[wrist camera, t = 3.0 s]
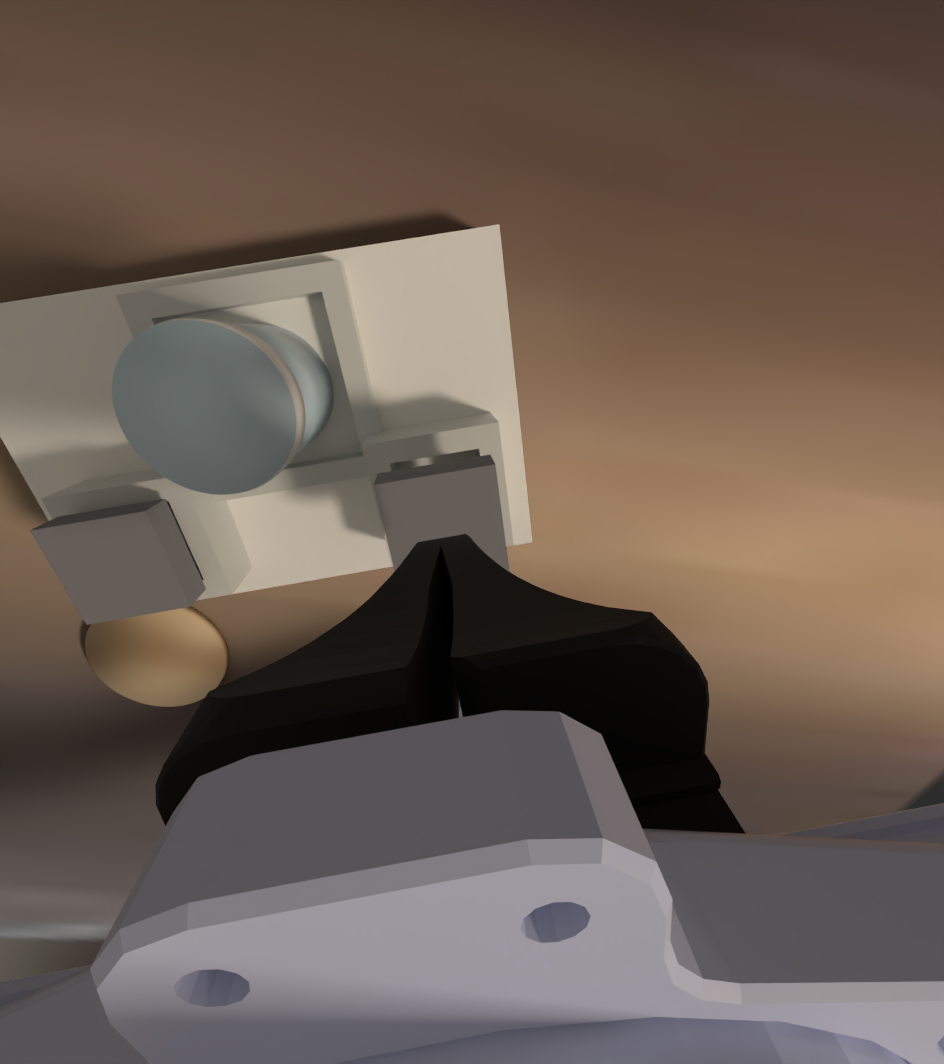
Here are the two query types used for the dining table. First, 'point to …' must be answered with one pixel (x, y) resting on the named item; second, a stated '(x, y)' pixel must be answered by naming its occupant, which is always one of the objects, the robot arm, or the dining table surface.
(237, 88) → the dining table surface
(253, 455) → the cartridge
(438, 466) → the plunger
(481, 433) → the housing
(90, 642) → the coaster
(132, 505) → the plunger
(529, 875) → the robot arm
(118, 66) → the dining table surface
